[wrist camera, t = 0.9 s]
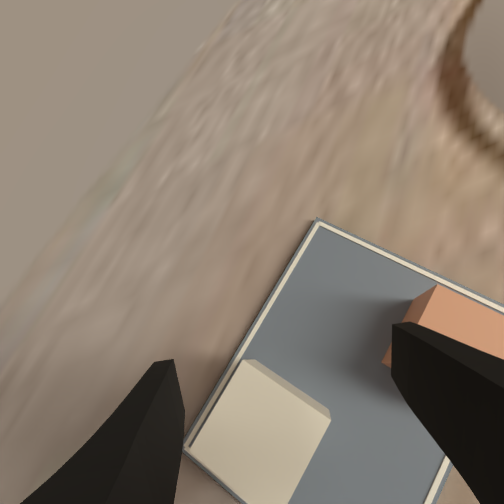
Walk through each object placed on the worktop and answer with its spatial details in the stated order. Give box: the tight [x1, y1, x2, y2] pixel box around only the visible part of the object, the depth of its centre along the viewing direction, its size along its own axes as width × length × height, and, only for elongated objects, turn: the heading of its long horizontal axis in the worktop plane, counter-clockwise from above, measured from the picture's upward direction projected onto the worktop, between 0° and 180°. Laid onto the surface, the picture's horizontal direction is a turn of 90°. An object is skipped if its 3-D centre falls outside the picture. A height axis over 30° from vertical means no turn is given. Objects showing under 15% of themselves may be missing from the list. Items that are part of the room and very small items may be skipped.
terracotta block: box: [381, 284, 504, 368], centre depth 19 cm, size 5×5×5 cm
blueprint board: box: [182, 217, 504, 504], centre depth 20 cm, size 15×20×5 cm
